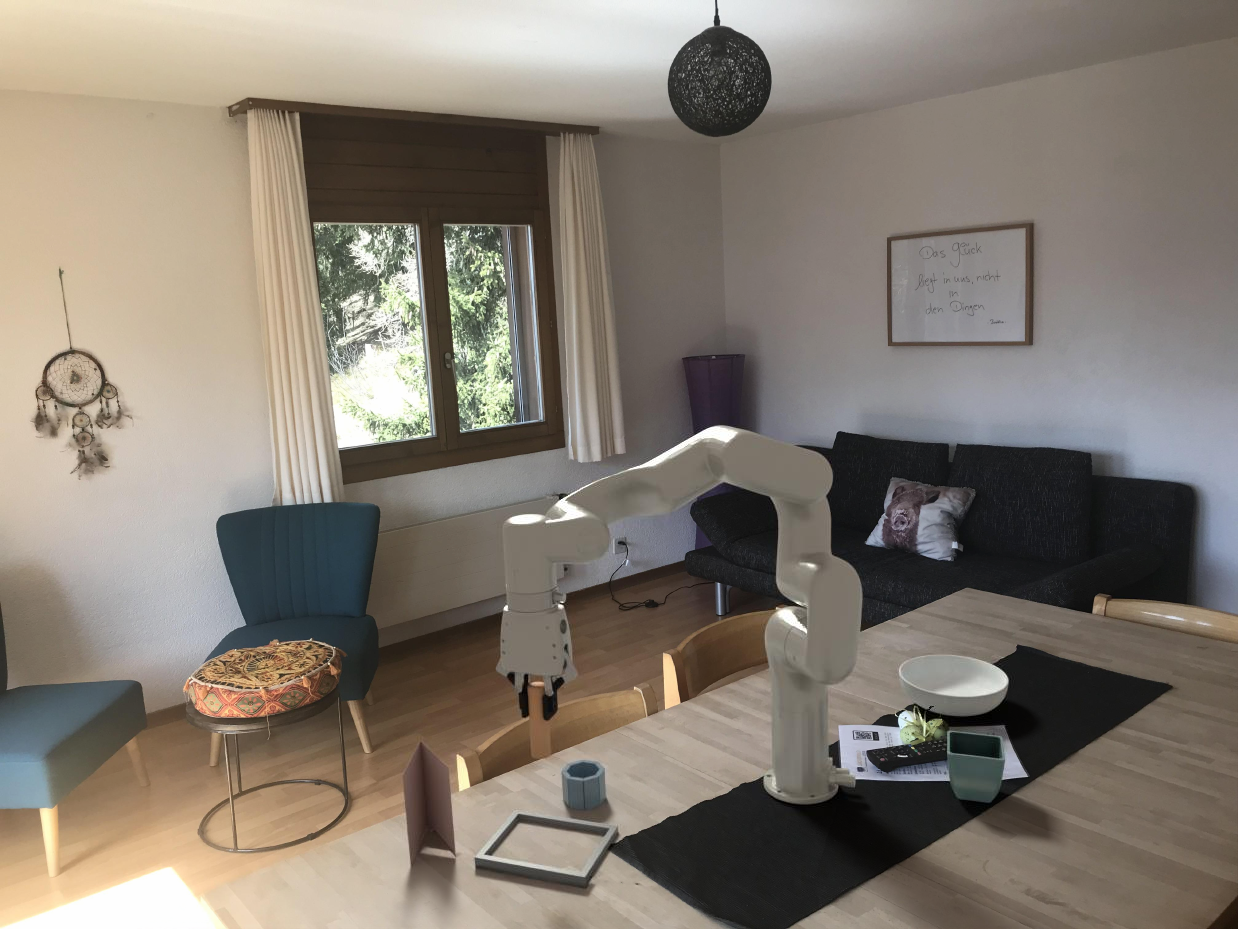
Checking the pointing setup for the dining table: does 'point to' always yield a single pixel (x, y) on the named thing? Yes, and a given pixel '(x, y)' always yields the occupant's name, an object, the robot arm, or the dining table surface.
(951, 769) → the flower pot
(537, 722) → the dowel
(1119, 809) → the dining table surface
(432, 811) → the greeting card
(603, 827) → the grey rectangular frame
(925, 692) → the serving bowl
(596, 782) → the cup
